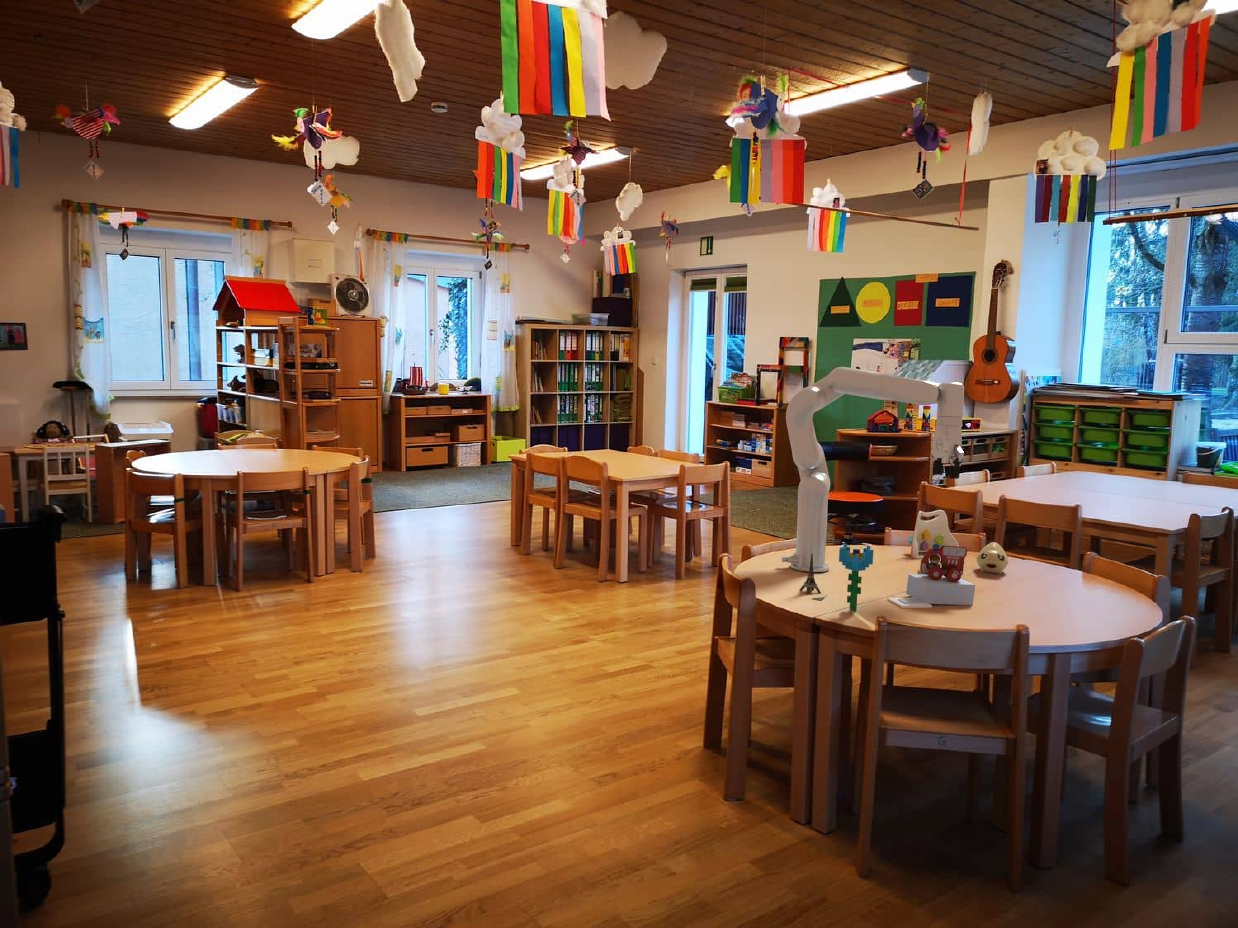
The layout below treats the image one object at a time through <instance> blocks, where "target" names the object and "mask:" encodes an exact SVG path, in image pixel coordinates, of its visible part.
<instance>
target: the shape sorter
mask: <svg viewBox="0 0 1238 928" xmlns="http://www.w3.org/2000/svg"><path fill="white" fill-rule="evenodd" d="M936 515H938V516H936ZM933 516H936V517H934V518H932V519H930V520H923V519H921V517H925V518H930V517H933ZM915 522H916V523H915V527H914V532H913V535H909V538H908V540H907V542H908V544H909V545H910V546H911V548H910V551H909V553H910V554H911V555H910V556H911V557H912V558H914V559H916V558H917V559H922V558H923V557H924V555H923V554H919V553H922V552H923V553H924V552H925V553H926V552H927V551H928V550H929V549H933V548H932V547H933V545H934V544H939V545H940V548H941V546H942V545H949V546H960V545H959V543H958V541H957V539H956V538H955V537H954V536H953V534H952V533H951V530H950V528H949V521H948V516H947V514H946V511H945V510H942V509H935V510H934V511H930V512H924V511H922V510H919V512H918V514H917V518H916V521H915ZM937 555H938V554H937ZM938 556H939V557H940V555H938ZM929 558H930V557H929ZM940 558H941V557H940Z"/></svg>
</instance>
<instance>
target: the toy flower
mask: <svg viewBox="0 0 1238 928" xmlns="http://www.w3.org/2000/svg"><path fill="white" fill-rule="evenodd" d="M862 550H863V552H861V549H858V548H853V549H852V551H851V546H848V544H847V543H843V546H840V547H839V552H838V563H841V566H844V567H845V568H844V569H846V570H849V571H851V573H848V577H847V578H848V579H847V580H848V581H850V584H848V583H847V587H846V588H847V590H846V592H847V593H850V594H849V595H846V603H849V611H850V612H857V609H858V608H857V607H858V595H861V594H862V587H861V586H859V585H860V584H862V581H863V579H862V578H863V577H862V576H859V573H860V572H863V571H866V569H867V568H870V565H873V564H874V549H871V545H866V547H863V549H862Z"/></svg>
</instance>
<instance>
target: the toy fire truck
mask: <svg viewBox="0 0 1238 928" xmlns="http://www.w3.org/2000/svg"><path fill="white" fill-rule="evenodd" d="M932 548H933V549H929V550H928V551H927V552H925V555H924V557H923V558H921V560H920V566H919V570H920V571H921V572H922V573H924V574H927V575H928V576H929V577H930V578H931V579H932V580H940V579H941V578H942V576H943V575H944V576H945V577H946V578H947V579H948V580H949V581H951V582H957V581H959V580H960V579H962V576H963V575H964V567H965V558H966V557H967V554H968V549H967V547H965V546H962V545H959V546H949V545H942V546H941V548H940V545H939V544H934V545H933V547H932ZM937 554H938V555H940V557H939V556H938V555H937ZM929 557H930V558H929Z"/></svg>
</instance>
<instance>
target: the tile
mask: <svg viewBox="0 0 1238 928" xmlns="http://www.w3.org/2000/svg"><path fill="white" fill-rule="evenodd" d="M887 601H888V602H891V603H892V604H894V605H896V606H898V607H899V608H902V609H919V608H920V609H927V608H930V609H931V608H933V604H925V603H923V602H921V601H919V600H917V599H915V598H913V597H888V598H887Z"/></svg>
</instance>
